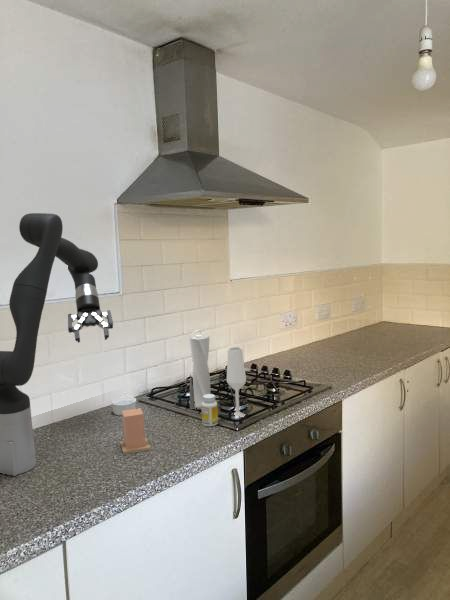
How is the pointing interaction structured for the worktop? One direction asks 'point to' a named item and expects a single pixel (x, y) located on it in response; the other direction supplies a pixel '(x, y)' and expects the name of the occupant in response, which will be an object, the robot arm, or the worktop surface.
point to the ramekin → (123, 404)
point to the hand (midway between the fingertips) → (92, 339)
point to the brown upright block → (133, 428)
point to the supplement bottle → (209, 410)
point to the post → (128, 451)
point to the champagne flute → (236, 373)
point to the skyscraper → (199, 369)
